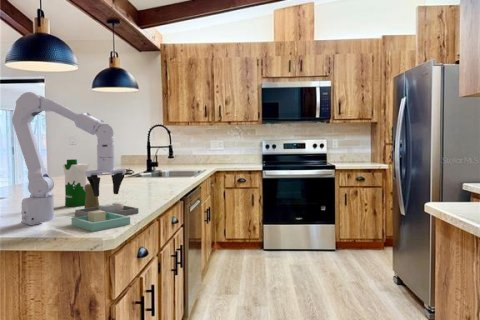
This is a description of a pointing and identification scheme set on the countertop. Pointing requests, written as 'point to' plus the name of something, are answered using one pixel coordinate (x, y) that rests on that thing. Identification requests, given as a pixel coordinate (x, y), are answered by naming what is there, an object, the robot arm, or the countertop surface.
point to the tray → (125, 211)
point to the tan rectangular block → (96, 216)
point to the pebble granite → (118, 206)
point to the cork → (90, 198)
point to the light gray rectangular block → (107, 208)
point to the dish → (101, 222)
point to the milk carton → (75, 183)
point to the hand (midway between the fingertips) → (106, 195)
